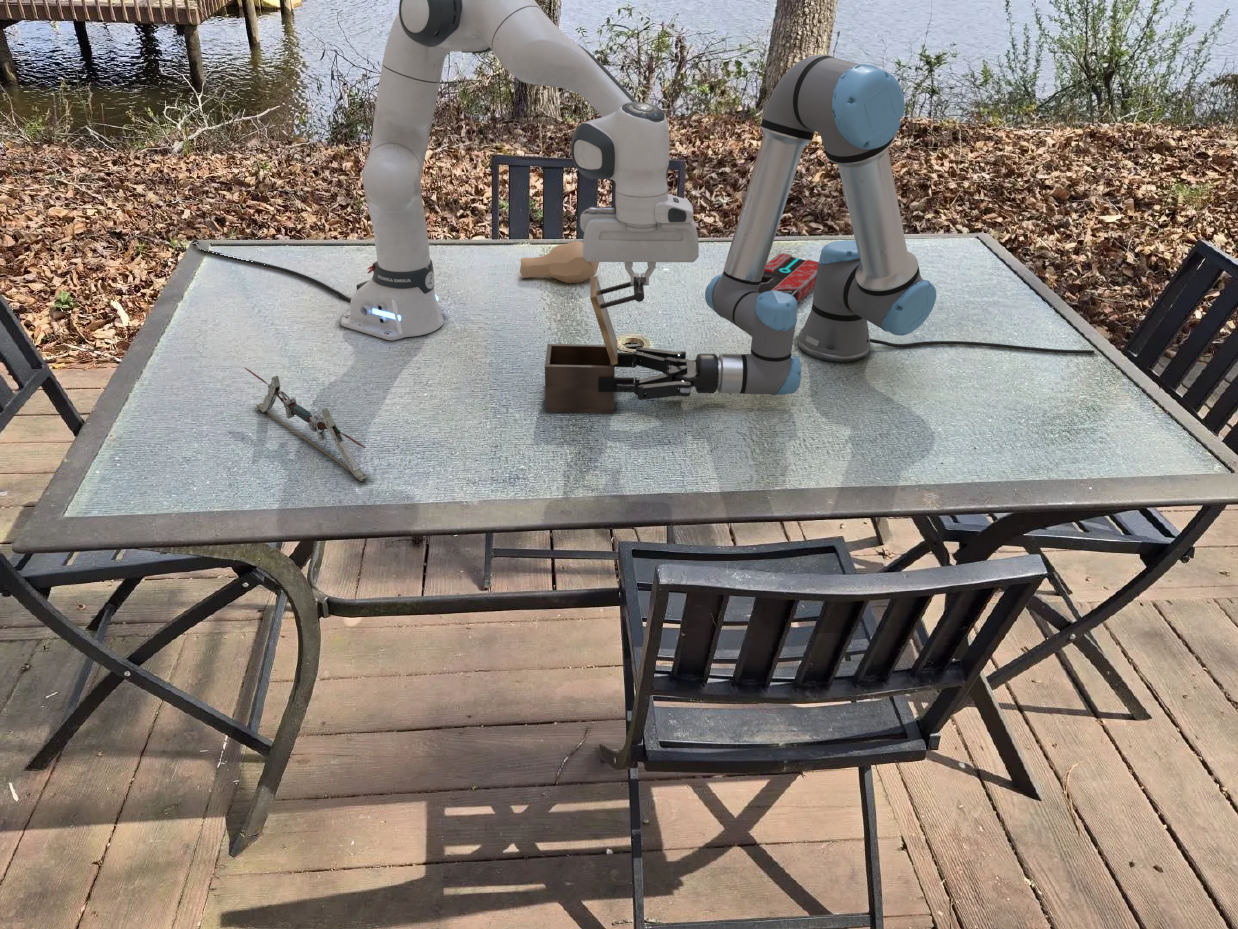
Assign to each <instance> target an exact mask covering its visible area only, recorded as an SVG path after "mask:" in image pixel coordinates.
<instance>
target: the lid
mask: <svg viewBox="0 0 1238 929" xmlns="http://www.w3.org/2000/svg"><path fill="white" fill-rule="evenodd" d="M640 279H641V277H640V276H639V285H631V281H628V282H624V283H620V284H617V285H613V286H609V287H606V288H603V289H602V288H601V284H600V281H599V278H598V276H597V275H595V276H593V277H591V278H590V293H589V299H590V303H591V306H592V308H593V312H594V314H595V318H596V321H597V323H598V327H599V330H600V333H601V337H602V339H603V342H604V345H605V346H606V349H607V352H608V355H609V358H610V361H611V364H612V365H615V364H618V354H617V353H618V339H617V336H616V333H615V330H614V327H613V323H612V320H611V316H610V313H609V311H608V308H610V307H614V306H618V305H622V304H624V303H629V302H633V301H636V302H637V303H641V302H643V301H644V299H645V288H644V285H641V284H640ZM631 287H633V295H628V296H625V297H622V298H621V297H620V298H617V299H614V300H613V299H612V300H610V301H606V300H605V297H604V295H605V294H609V293H612V292H616V291H620V290H624V289H628V288H631Z"/></svg>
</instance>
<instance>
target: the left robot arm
mask: <svg viewBox="0 0 1238 929" xmlns="http://www.w3.org/2000/svg"><path fill="white" fill-rule="evenodd" d="M451 52H454V53H459V52H461V53H463V54H485V53H490V52H492V53H493V55H494V56H495V57H496V59H497V60H498V62H499V63H500V64H501V65H502V66H503V68H504V69H505V70H506V71H507V72H508V73H510V74H511V75H512V76H513V77H514V78H515V79H516V80H518V81H520V82H521V83H525V84H528V85H532V86H533V85H534V86H545V87H553V88H559V89H563V90H567V91H571V92H574V93H575V94H577V95H579V96H581V97H582V98H584V99H585V100H586V101H587V102H588V104H590V106H592V108H594V110H595V111H596V112H597V113H598V114H599V116H601V117H597V118H595V119H591V120H587V121H585V122H583V123H581V124H579V125H578V126H576V129H575V130H574V132H573V134H572V137H571V142H570V154H571V158H572V159H571V160H572V162H573V164H574V166H575V168H576V169H577V170H578V172H579V173H580V174H581V175H582V176H583V177H585V178H586V179H589V180H612V181H613V182H614V184H615V189H614V190H615V192H614V193H615V197H614V201H615V202H614V205H615V206H589V207H588V208H587V209H584V210H583V211H582V212H581V214H580V215H579V227H580V229H581V231H582V232H583V238H582V243H583V258H584V259H585V260H586V261H587V262H599V263H624V270H626V272H627V274H628V275H629V277H630V282H631V285H639V277H641V279H640V284H641V285H643V286H644V287H645V286H650V277H651V276H652V274H653V273H654V271H655V270H656V265H657V263H694V262H696V261H697V259H698V258H699V256H700V254H699V253H700V246H699V245H700V244H699V234H698V230H697V225H696V222H695V220H694V208H693V204H692V203H691V201H690V200H688V199H687V198H683V197H680V196H677V195H673V194H671V193H669V186H668V181H667V172H668V168H669V165H670V129H669V128H670V127H669V122H668V118H667V116H666V113H665V111H664V110H662V108H660V107H659V106H657V105H656V104H652V103H650V102H641V101H638V100H637V99H636V98H634V97H633V95H632V94H631V93H630V92H628V90H627V89H626V88H625V87H624V85H622V84H621V83H620V82H619V81H618V80H617V79H616V78H615V76H613V74H612V73H610V71H609V70H608V69H607V68H606V67H605V66H604V65H603V64H602V63H601V62H600V61H599V60H598V59H597V58H596V57H595V56H594V55H593V53H591V52H590V51H589V50H587V49H586V48H584V47H583V46H582V45H580V44H579V43H577V42H576V41H575V40H573V39H572V38H570V37H569V36H568V35H567V34H566V33H564V32H563V31H562V30H561V29H560V28H559V27H558V26H557V25H556V24H555V23H554V22H553V21H552V20H551V18H549V16H548V15H547V14H546V13H545V11H544V10H543V9H542V8H541V6H540V5H539V4H538V3H537V1H536V0H399V3H398V12H397V14H396V16H395V17H394V20H393V22H392V25H391V28H390V31H389V34H388V37H387V41H386V44H385V48H384V53H383V58H382V63H381V70H380V75H379V81H378V87H377V88H378V89H377V93H376V100H375V106H374V115H373V116H374V117H373V123H372V125H373V126H372V132H371V133H372V134H371V140H370V146H369V151H368V155H367V158H366V161H365V163H364V166H363V168H362V171H361V172H362V173H361V179H362V180H361V181H362V185H363V191H364V196H365V202H366V205H367V211H368V215H369V218H370V221H371V224H372V225H371V227H372V231H373V238H374V245H375V246H374V247H375V253H376V254H375V255H376V261H374V262H373V263H372V265H371V266H369V267H368V268H367V274H370V273H372V277H371V278H370V279H369V280H365V281H362V282H360V283H358V284H356V285H355V287H356V289H355V292H354V293H353V294H352V296H351V298H350V297H348V296H347V295H345V294H343V293H342V292H340V291H338V290H337V289H334V288H333V287H331V286H330V285H327V284H326V283H324V282H322V281H320V280H318V279H315V278H313V277H311V276H308V275H306V274H304V273H300V272H298V271H294V270H291V269H289V268H285V267H281V266H277V265H274V264H269V263H265V262H261V261H256V260H252V259H248V260H249V261H246V260H241V259H237V258H233V257H228V256H224V255H220V254H223V253H222V252H217V251H213V250H210V249H208V250H209V252H208V251H204V250H202V249H201V250H199V251H200V252H202V253H204V254H207V255H212V256H215V257H219V258H223V259H227V260H232V261H235V262H241V263H245V264H250V265H254V266H258V267H263V268H266V269H271V270H275V271H278V272H281V273H285V274H289V275H292V276H295V277H298V278H300V279H303V280H306V281H308V282H310V283H313V284H314V285H317V286H319V287H321V288H323V289H325V290H327V291H328V292H330V293H331V294H333V295H334V296H337V297H339V298H340V299H342V300H343V301H345V302H348V303H350V305H349V310H347V311H346V313H344V314H343V316H342V317H341V320H340V324H341V326H342V327H344V328H347V329H350V330H354V331H357V332H360V333H364V334H367V335H370V336H373V337H377V338H380V339H383V340H387V341H396V340H397V341H398V340H401V339H404V338H412V337H420V336H423V335H427V334H430V333H431V334H432V333H434V332H436V331H437V330H439V329H441V327H442V326H443V325H444V323H445V320H444V317H443V314H442V312H441V310H440V307H439V303H438V301H439V297H438V295H437V294H436V291H435V271H434V264H433V260H432V259H431V253H430V243H429V232H428V223H427V220H426V215H425V214H426V213H425V209H424V202H423V195H422V175H423V171H424V166H425V160H426V157H427V156H426V155H427V150H428V146H429V140H430V136H431V135H430V134H431V131H432V126H433V121H434V117H435V116H434V115H435V112H436V106H437V101H438V95H439V91H440V86H441V79H442V74H443V68H444V63H445V61H446V58H447V56H448V54H450V53H451ZM194 242H198V243H197V244H199V245H200V242H199V241H198V240H197V239H193V240H192V243H194ZM192 245H193V246H196V245H195V244H192ZM212 252H214V253H212ZM216 253H217V254H216ZM251 261H253V262H251ZM634 263H646V264H647V269H646V270H645V272H641V273H639V272H635V271H634V270H633V268H634ZM264 264H265V265H264Z"/></svg>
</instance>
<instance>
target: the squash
mask: <svg viewBox="0 0 1238 929" xmlns="http://www.w3.org/2000/svg"><path fill="white" fill-rule="evenodd" d="M599 265H600V262H587V261H586V260H585V259H584V258H583V241H579V240H574V241H570V242H568V243H564V244H559V245H556V246H555V247H553V248H551V250H550V251H549V252H548V253H547V254H545V255H542V256H534V257H522V258H520V268H519V273H520V275H521V276H522V278H523V279H526V278H527V279H528V278H533V277H548V278H553V279H555V280H558V281H559V282H562V283H565V284H580V283H583V282H584V281H587V280H588V279H591V277H595V276H596V274H597V273H598V272H597V271H598V269H599Z"/></svg>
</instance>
